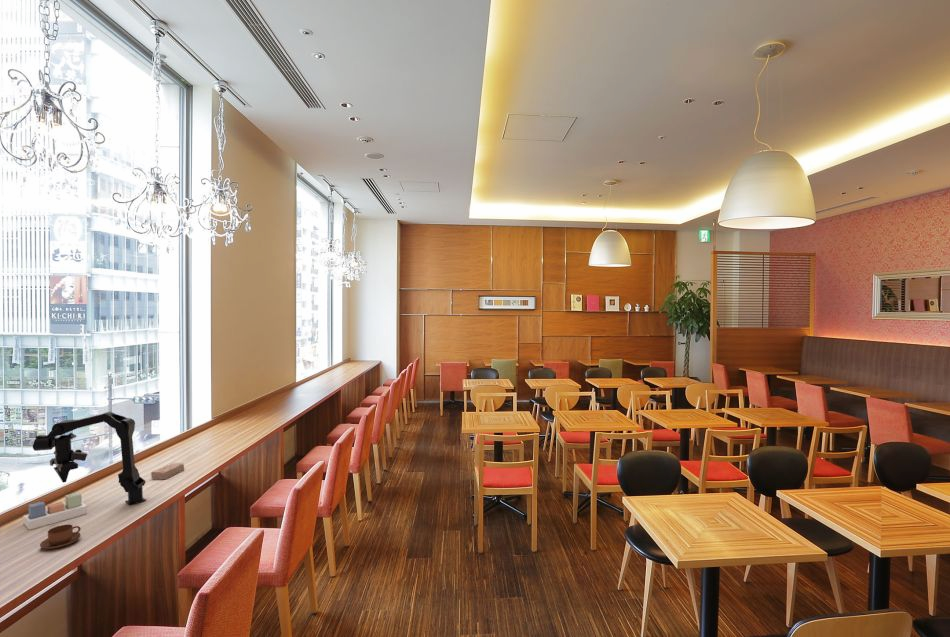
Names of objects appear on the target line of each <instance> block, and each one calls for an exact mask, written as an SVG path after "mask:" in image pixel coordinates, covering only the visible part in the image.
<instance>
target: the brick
mask: <svg viewBox="0 0 950 637" xmlns="http://www.w3.org/2000/svg"><path fill="white" fill-rule="evenodd" d="M184 470H185V465H184V463H183V462H171V463H169V464H166V465H164V466H163V467H160V468H158V469H155V470H152V471H151V472H150V476H151V477H150V478H151V479H152V480H166V479H170V478H171V477H174V476H176V475H177V474H179V473H181V472H182V471H184Z"/></svg>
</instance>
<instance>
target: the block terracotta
mask: <svg viewBox="0 0 950 637" xmlns="http://www.w3.org/2000/svg"><path fill="white" fill-rule="evenodd" d="M64 505H65V504H64V502H62V501H58V502H55V503H50V504H48V505H46V506H47V509H48V513H49V514H53V513H56V512H60V511H64Z"/></svg>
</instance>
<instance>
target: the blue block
mask: <svg viewBox="0 0 950 637" xmlns="http://www.w3.org/2000/svg"><path fill="white" fill-rule="evenodd" d="M27 508H28V509H27V510H28V515H29V519H30V520H31V519H34V518H38V517H42V516H45V515H46V511H45V510H46V503H45V502H44V501H38V502H34V503H30V504H28V507H27Z"/></svg>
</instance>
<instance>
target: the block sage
mask: <svg viewBox="0 0 950 637" xmlns="http://www.w3.org/2000/svg"><path fill="white" fill-rule="evenodd" d="M64 496H65V499H64V500H65V505H66V508H67V509H71V508H74V507H78V506H82V503H83V501H82V494H81V493H80V492H79V491H78V492H73V493H70V494H65V495H64Z"/></svg>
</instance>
